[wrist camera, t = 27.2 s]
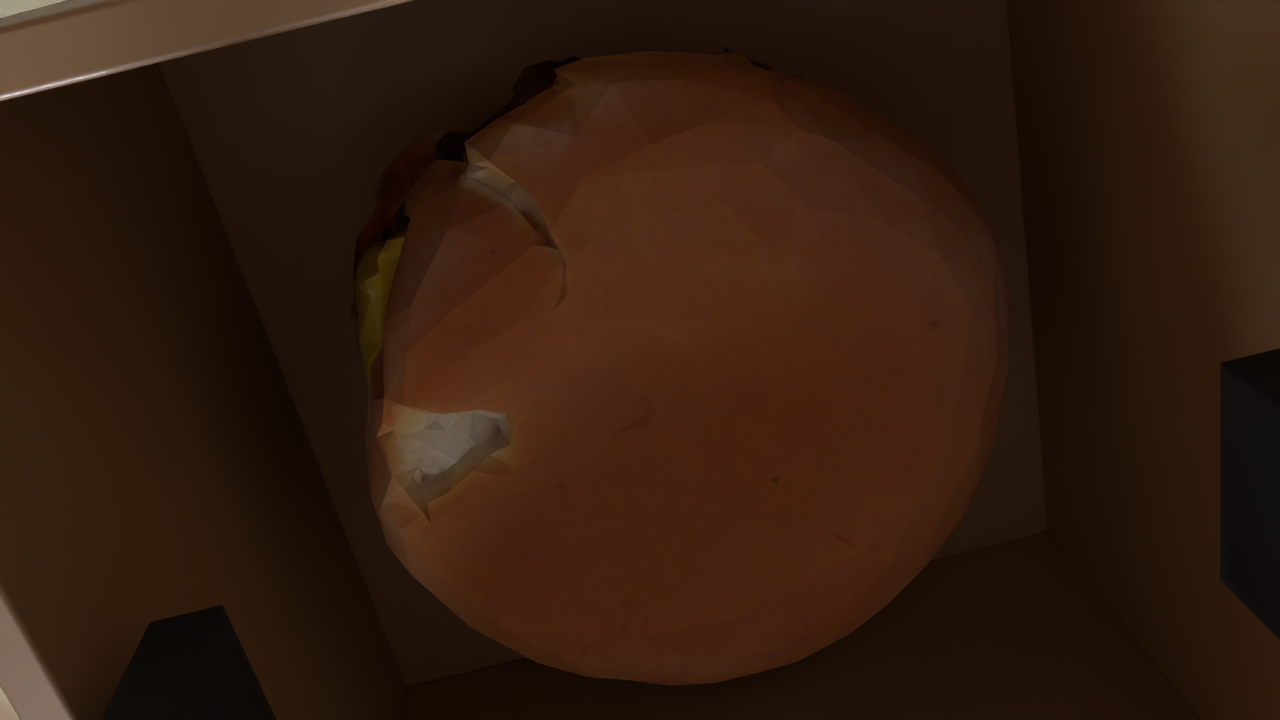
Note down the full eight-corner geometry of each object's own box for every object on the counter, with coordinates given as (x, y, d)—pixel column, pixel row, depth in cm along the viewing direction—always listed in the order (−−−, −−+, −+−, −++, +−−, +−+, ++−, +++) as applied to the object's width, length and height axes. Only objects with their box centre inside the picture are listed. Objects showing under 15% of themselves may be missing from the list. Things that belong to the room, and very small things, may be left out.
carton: (1007, -231, 17) (1535, -349, 8) (1062, 532, 22) (1401, 945, 14) (107, -11, 17) (-347, 111, 8) (392, 694, 22) (309, 1210, 14)
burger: (965, 481, 20) (1106, 630, 16) (487, 652, 20) (502, 851, 16) (856, -67, 16) (1006, -62, 12) (256, 131, 16) (192, 210, 12)
